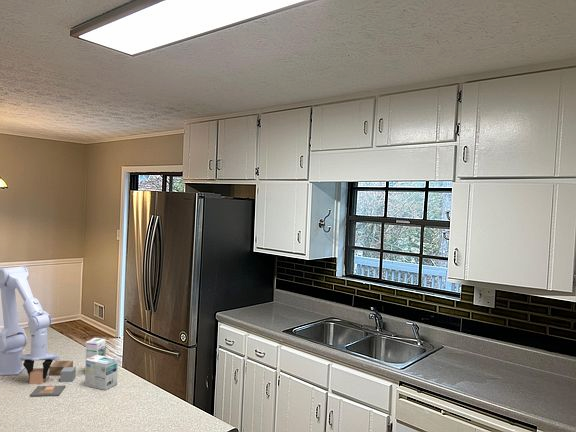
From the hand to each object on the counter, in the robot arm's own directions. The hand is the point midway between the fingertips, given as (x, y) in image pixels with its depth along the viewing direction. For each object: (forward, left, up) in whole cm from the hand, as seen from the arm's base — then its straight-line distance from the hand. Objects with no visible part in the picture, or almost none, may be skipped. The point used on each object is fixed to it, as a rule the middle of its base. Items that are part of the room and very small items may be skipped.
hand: (38, 378), depth 177 cm
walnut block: (+6, +9, -2) cm, 11 cm away
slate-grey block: (+11, +1, -2) cm, 11 cm away
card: (+7, -10, -1) cm, 12 cm away
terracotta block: (0, 0, -1) cm, 1 cm away
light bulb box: (+25, -5, -2) cm, 26 cm away
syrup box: (+20, +7, -2) cm, 21 cm away
